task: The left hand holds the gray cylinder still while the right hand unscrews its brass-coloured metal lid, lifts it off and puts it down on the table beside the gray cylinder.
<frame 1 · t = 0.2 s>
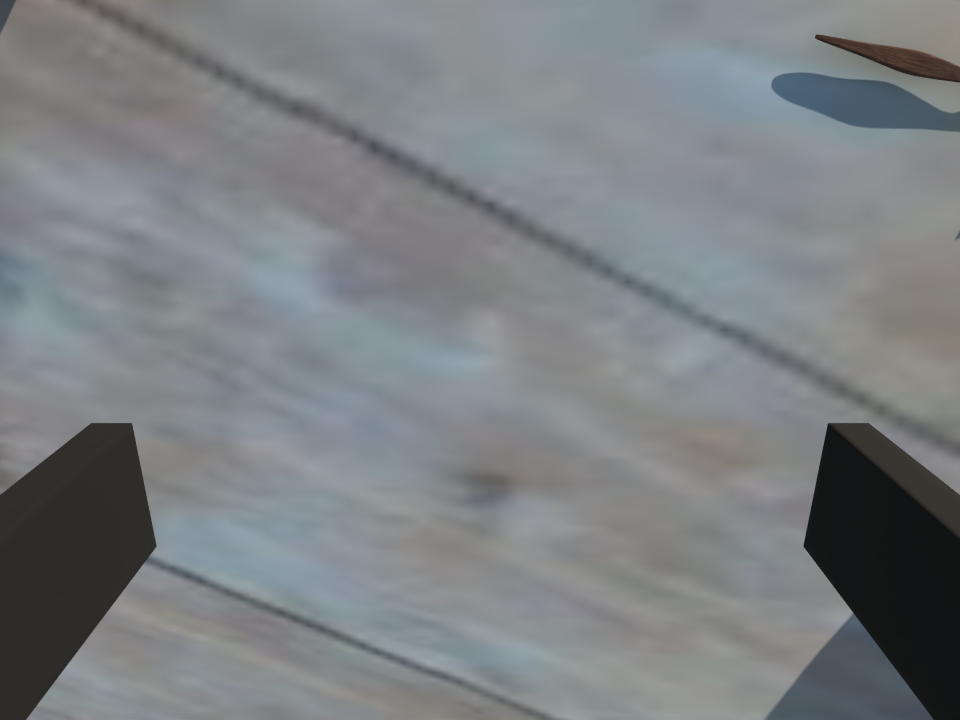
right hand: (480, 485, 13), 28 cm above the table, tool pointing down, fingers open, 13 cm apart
fork: (946, 74, 36), on the table
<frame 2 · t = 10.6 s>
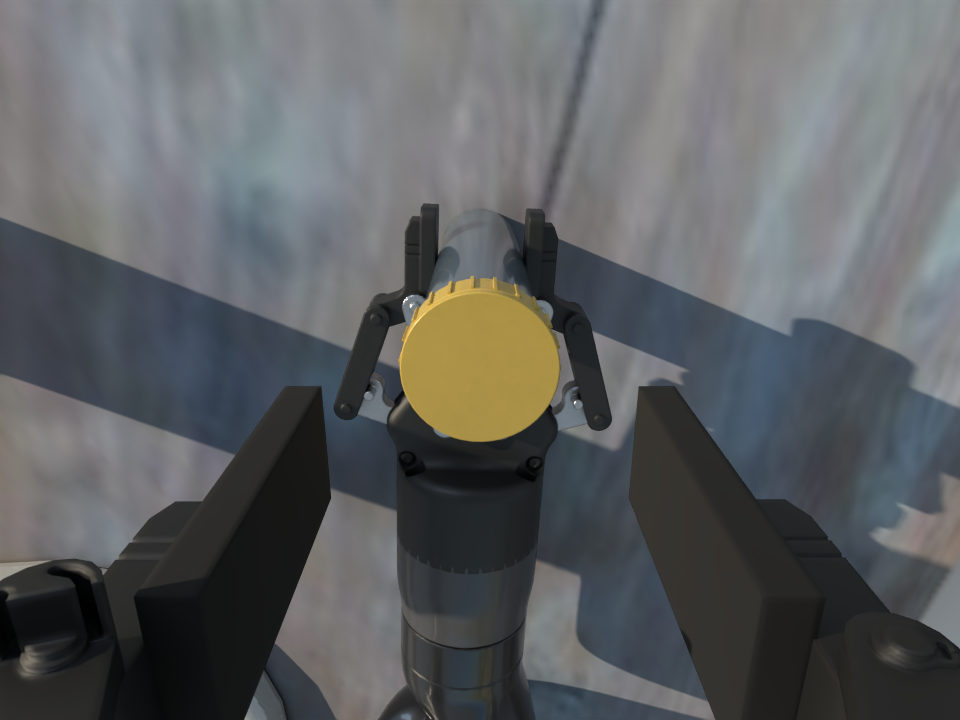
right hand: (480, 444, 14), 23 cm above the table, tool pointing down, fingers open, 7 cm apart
left hand: (482, 210, 30), fingers closed on gray cylinder, 4 cm apart
gray cylinder: (479, 246, 36), on the table, touching left hand
lid: (480, 366, 19), point 19 cm above the table, screwed on, not yet turned
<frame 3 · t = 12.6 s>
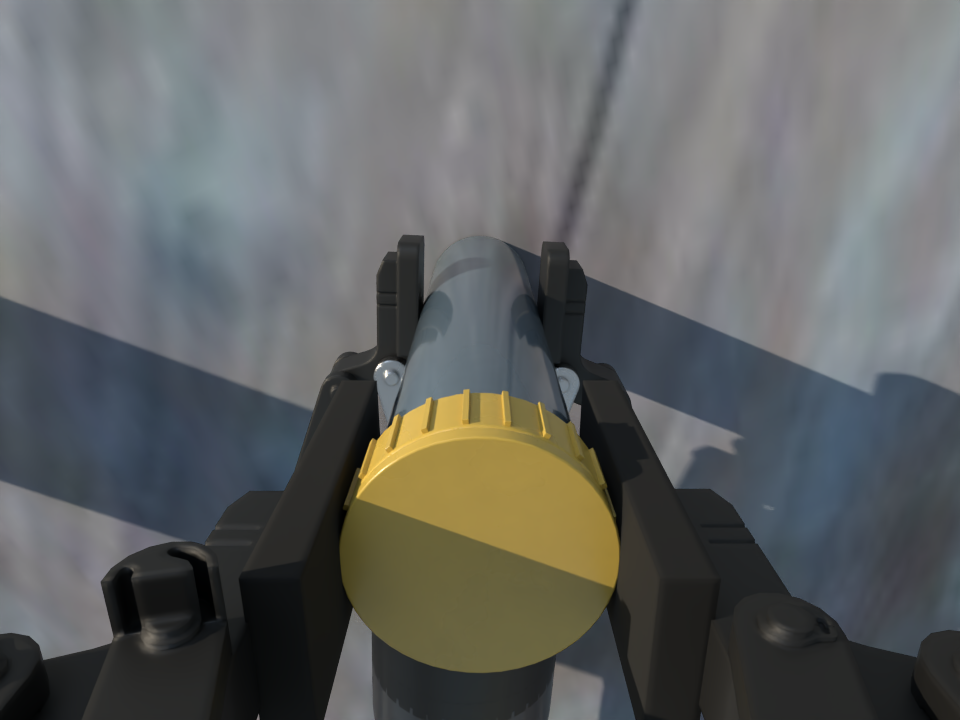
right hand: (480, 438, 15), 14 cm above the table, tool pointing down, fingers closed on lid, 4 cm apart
gray cylinder: (479, 283, 28), on the table, touching left hand
lid: (479, 550, 11), point 19 cm above the table, screwed on, not yet turned, touching right hand
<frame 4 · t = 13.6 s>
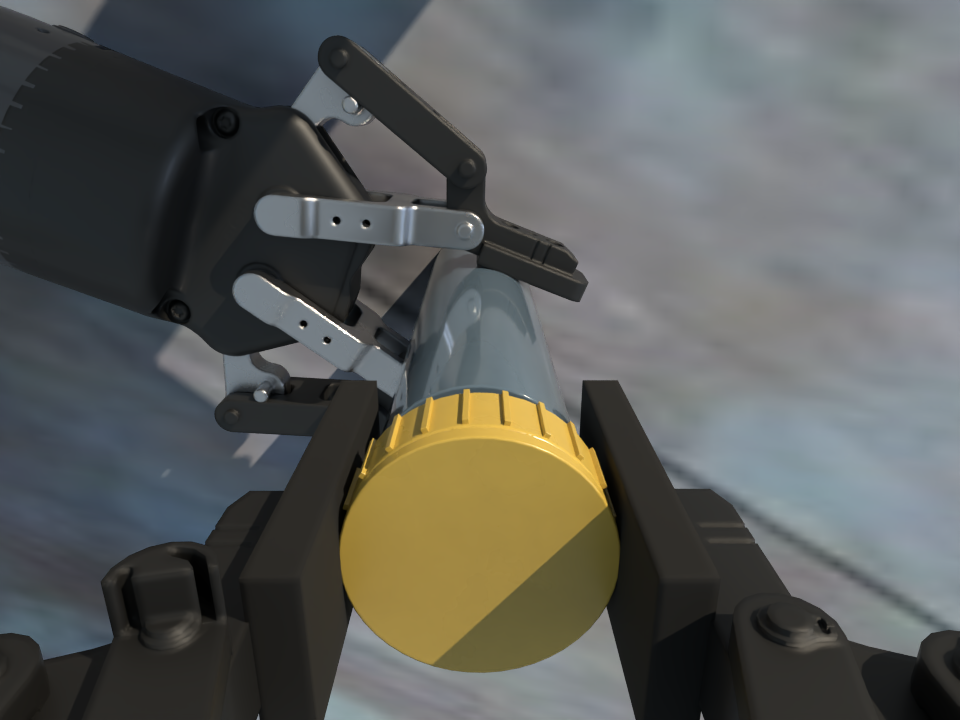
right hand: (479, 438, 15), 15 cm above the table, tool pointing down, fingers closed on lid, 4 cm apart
left hand: (550, 346, 23), fingers closed on gray cylinder, 4 cm apart
gray cylinder: (478, 279, 29), on the table, touching left hand
lid: (479, 550, 11), point 19 cm above the table, off its thread, touching right hand
when the right hand's fingers open (0 cm above the table, at t = 19.9 s): lid drops 3 cm, point 1 cm above the table.
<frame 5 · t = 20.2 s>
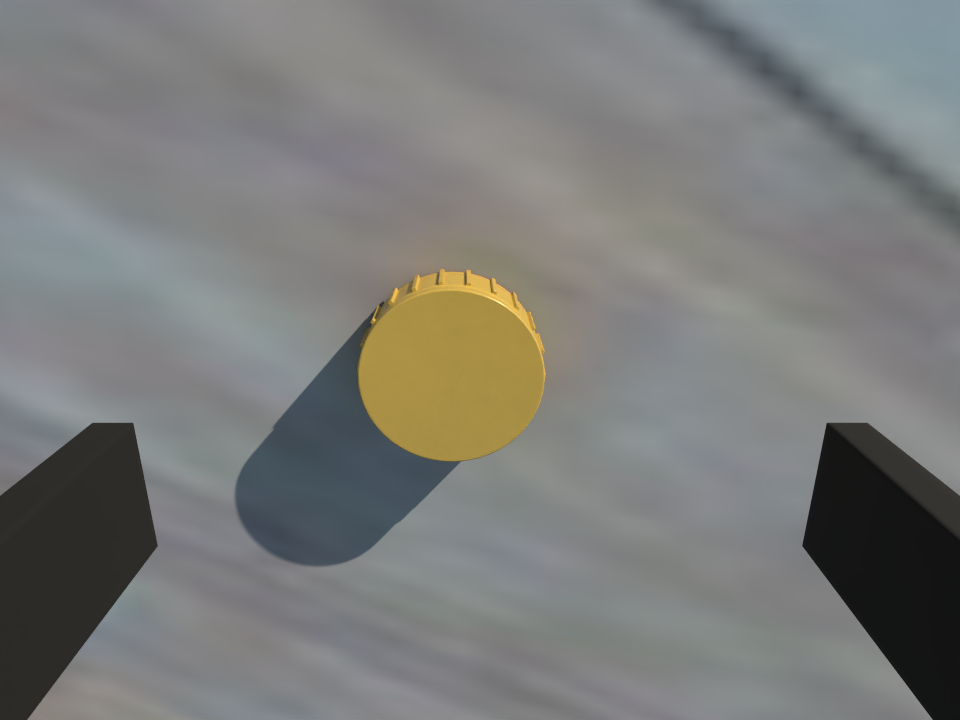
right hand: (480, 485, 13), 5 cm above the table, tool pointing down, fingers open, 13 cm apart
lid: (451, 374, 16), point 1 cm above the table, off its thread
when the left hand's fingers open (6 cm above the table, at t = 20.5 s): gray cylinder stays where it is, on the table.
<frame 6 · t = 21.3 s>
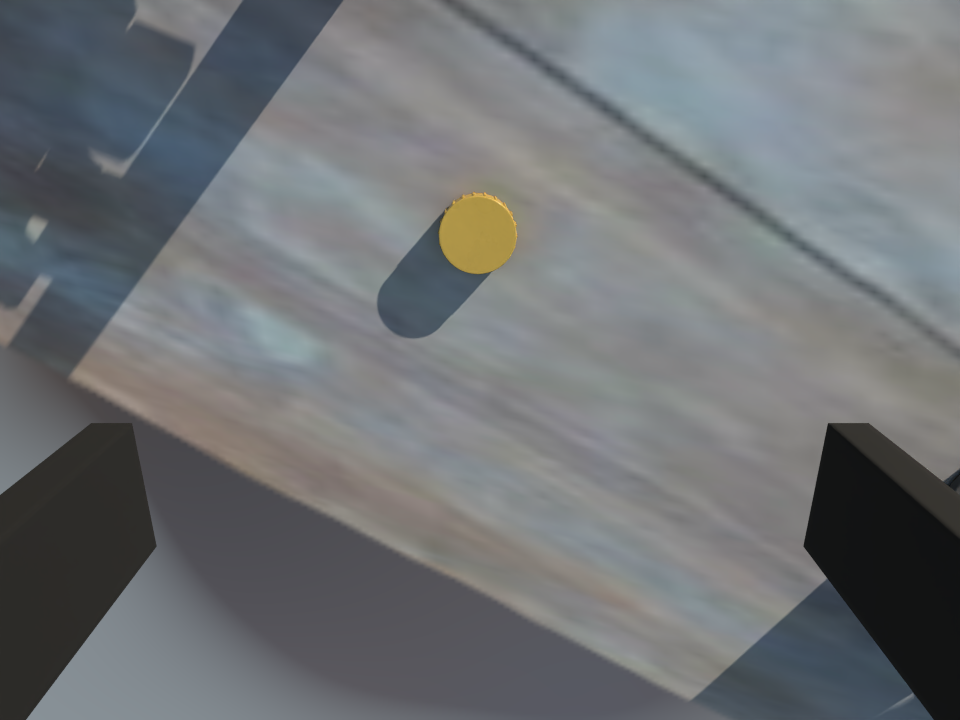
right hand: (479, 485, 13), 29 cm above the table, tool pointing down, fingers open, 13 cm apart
lid: (477, 235, 39), point 1 cm above the table, off its thread
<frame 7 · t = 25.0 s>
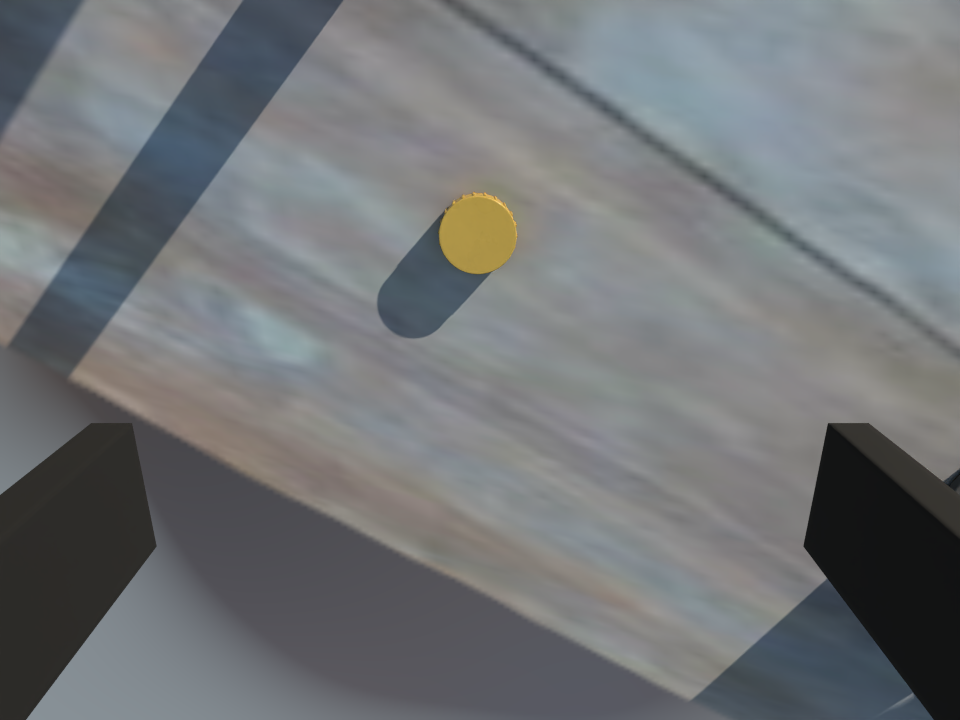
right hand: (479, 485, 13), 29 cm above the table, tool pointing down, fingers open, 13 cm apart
lid: (477, 235, 39), point 1 cm above the table, off its thread
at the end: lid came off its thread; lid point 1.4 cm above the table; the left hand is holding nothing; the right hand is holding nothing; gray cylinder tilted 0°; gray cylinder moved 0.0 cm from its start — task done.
